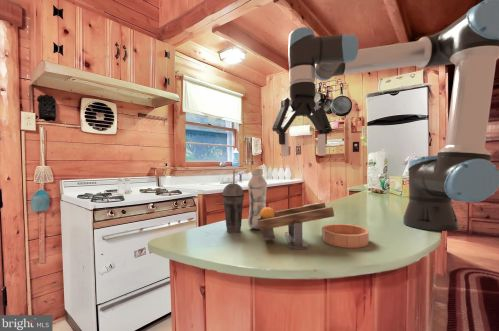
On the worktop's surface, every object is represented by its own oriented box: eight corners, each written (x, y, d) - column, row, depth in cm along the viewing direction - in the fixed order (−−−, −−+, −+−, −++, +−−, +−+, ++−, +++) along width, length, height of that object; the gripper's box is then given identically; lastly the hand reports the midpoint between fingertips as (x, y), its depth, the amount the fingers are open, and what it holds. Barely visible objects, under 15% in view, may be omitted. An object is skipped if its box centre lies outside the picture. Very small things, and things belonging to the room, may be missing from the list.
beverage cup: (219, 232, 81) (217, 170, 80) (227, 227, 88) (226, 169, 87) (240, 234, 79) (239, 170, 78) (247, 228, 86) (246, 169, 85)
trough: (321, 215, 82) (317, 197, 82) (336, 227, 67) (332, 205, 67) (260, 227, 82) (256, 208, 82) (262, 241, 67) (257, 219, 67)
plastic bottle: (244, 228, 85) (243, 169, 85) (258, 225, 90) (257, 168, 89) (257, 232, 80) (256, 169, 80) (271, 228, 85) (271, 168, 85)
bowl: (357, 234, 77) (357, 223, 77) (377, 247, 65) (376, 235, 65) (317, 234, 77) (317, 224, 77) (330, 248, 65) (329, 235, 65)
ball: (275, 218, 73) (272, 204, 73) (276, 221, 69) (273, 207, 69) (261, 221, 73) (258, 207, 73) (262, 224, 69) (259, 210, 69)
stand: (297, 234, 77) (297, 213, 77) (307, 249, 64) (306, 223, 64) (284, 234, 78) (284, 213, 77) (291, 249, 65) (291, 224, 64)
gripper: (325, 91, 84) (327, 155, 84) (259, 83, 73) (261, 157, 73) (343, 85, 77) (344, 154, 77) (272, 75, 66) (275, 156, 67)
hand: (304, 156), depth 75 cm, fingers open, 13 cm apart
